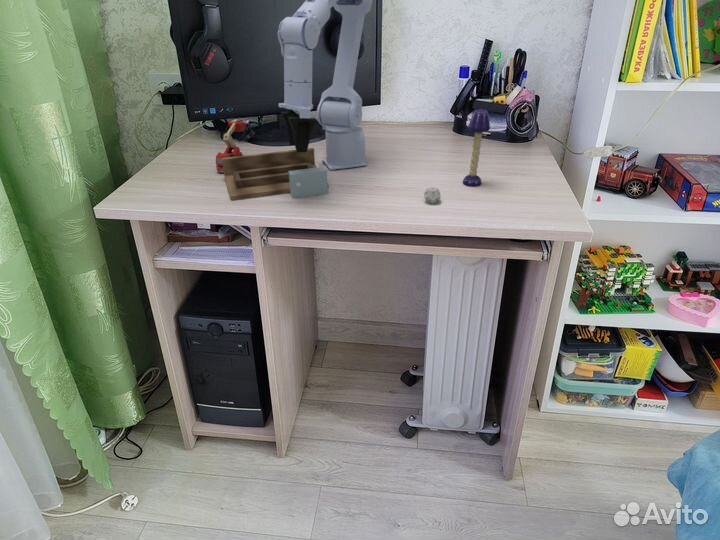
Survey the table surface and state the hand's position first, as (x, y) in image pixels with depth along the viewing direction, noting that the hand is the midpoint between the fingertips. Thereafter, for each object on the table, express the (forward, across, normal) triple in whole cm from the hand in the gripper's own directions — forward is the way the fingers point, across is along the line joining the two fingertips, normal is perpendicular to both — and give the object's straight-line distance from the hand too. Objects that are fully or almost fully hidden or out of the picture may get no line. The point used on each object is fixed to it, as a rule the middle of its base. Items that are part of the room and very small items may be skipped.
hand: (297, 148), depth 117 cm
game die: (+9, +12, +27) cm, 31 cm away
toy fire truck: (+9, -25, -12) cm, 29 cm away
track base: (+10, -9, -3) cm, 14 cm away
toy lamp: (+7, +7, +40) cm, 41 cm away
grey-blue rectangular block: (+10, 0, +3) cm, 11 cm away
